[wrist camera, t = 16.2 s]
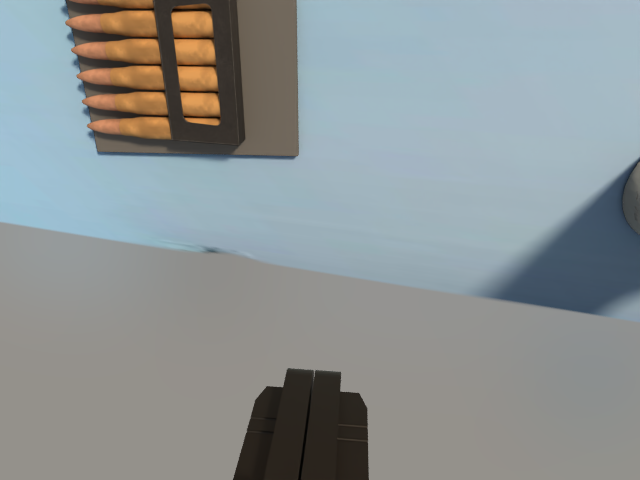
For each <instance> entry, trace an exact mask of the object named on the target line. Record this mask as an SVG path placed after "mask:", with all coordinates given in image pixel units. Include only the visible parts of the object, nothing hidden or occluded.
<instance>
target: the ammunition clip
mask: <svg viewBox="0 0 640 480" xmlns="http://www.w3.org/2000/svg"><path fill="white" fill-rule="evenodd" d="M70 1H73V2H77V3H82V4H90V5H104V6H115V7H119V8H125V9H154V11H120V12H116V13H103V14H88V15H82V16H77V17H74V18H71V19H69V20H67V21H66V22H65V24H66V25H68V26H69V27H72V28H74V29H78V30H82V31H86V32H94V33H107V34H118V35H123V36H128V37H158V39H125V40H120V41H108V42H91V43H85V44H81V45H78V46H76V47H74V48H72V49H71V51H72V52H73V53H75V54H77V55H80V56H83V57H87V58H92V59H100V60H112V61H123V62H128V63H132V64H162V66H138V65H135V66H128V67H123V68H100V69H92V70H88V71H84V72H81V73H79V74H78V75H77V78H79V79H81V80H83V81H86V82H89V83H93V84H99V85H109V86H120V87H128V88H132V89H143V90H165V92H133V93H128V94H104V95H96V96H92V97H88V98H86V99H84V100H82V103H83V104H85V105H87V106H90V107H93V108H97V109H102V110H111V111H122V112H131V113H135V114H142V115H168V117H136V118H126V119H105V120H99V121H95V122H92V123H90V124H88V125H87V127H88V128H90V129H92V130H94V131H98V132H101V133H106V134H113V135H124V136H134V137H138V138H144V139H168V140H173V141H185V142H197V143H208V144H220V145H232V146H239V145H240V144H241V143H242V142H243V141H244V140H245V123H244V107H243V91H242V75H241V59H240V43H239V27H238V11H237V0H70ZM183 9H199V10H211V11H183ZM184 38H214V39H184ZM187 65H211V66H187ZM190 91H213V92H219V93H190ZM196 116H202V117H221V118H198V117H196Z"/></svg>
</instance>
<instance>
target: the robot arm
mask: <svg viewBox="0 0 640 480" xmlns="http://www.w3.org/2000/svg"><path fill="white" fill-rule="evenodd" d="M623 212H624V215H625V218H626V220H627V222H628V223H629V225H630V226H631V228H632V229H633V230H634V231H636V232H637V233H638V234H639V235H640V162H639V163H638V164H637V166H636V167H635V169H634V170H633V172H632V173H631V174H630V176H629V179H628V181H627V183H626V186H625V189H624V194H623ZM340 383H341V372H333V371H319V370H316V371H315V377H314V371H313V370H304V369H290V368H288V370H287V373H286V377H285V382H284V386H283V387H270V386H267V387H266V388H265V389H264V390H263V392H262V393H261V394H260V395H259V397H258V398H257V399H256V400H255V404H254V407H253V411H252V415H251V419H250V422H249V425H248V428H247V433H246V436H245V439H244V444H243V446H242V450H241V453H240V457H239V461H238V464H237V468H236V471H235V475H234V478H233V480H369V477H368V476H369V475H368V474H369V473H368V429H367V425H368V423H367V407H366V405H365V403H364V401H363V399H362V398H361V396H360V394H359V393H351V392H340Z"/></svg>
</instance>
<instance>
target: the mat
mask: <svg viewBox="0 0 640 480" xmlns="http://www.w3.org/2000/svg"><path fill="white" fill-rule="evenodd" d="M66 3H67V7H68V12H69V17H70V19H71V18H74V17H77V16H82V15H88V14H103V13H116V12H120V11H154V9H125V8H119V7H115V6H104V5H90V4H82V3H77V2H73V1H70V0H66ZM183 11H211V10H199V9H183ZM237 11H238V27H239V43H240V59H241V75H242V91H243V107H244V123H245V140H244V141H243V142H242V143H241V144H240V145H239V146H232V145H220V144H208V143H197V142H185V141H173V140H168V139H144V138H138V137H134V136H124V135H113V134H106V133H101V132H98V131H94V130H93V131H94V136H95V140H96V145H97V150H98V152H139V153H184V154H229V155H275V156H298V154H299V143H298V75H297V6H296V0H237ZM72 31H73V36H74V41H75V45H76V46H78V45H81V44H85V43H91V42H108V41H120V40H125V39H158V37H128V36H123V35H118V34H107V33H94V32H86V31H82V30H78V29H74V28H72ZM184 39H214V38H184ZM78 60H79V64H80V69H81V72H84V71H88V70H92V69H100V68H123V67H128V66H135V65H138V66H162V64H132V63H128V62H123V61H112V60H100V59H92V58H87V57H83V56H80V55H78ZM187 66H211V65H187ZM83 83H84V88H85V93H86V98H88V97H92V96H96V95H104V94H128V93H133V92H165V90H143V89H132V88H128V87H120V86H109V85H99V84H93V83H89V82H86V81H83ZM190 93H219V92H213V91H190ZM88 107H89V112H90V117H91V121H92V122H95V121H99V120H105V119H126V118H136V117H168V115H142V114H135V113H131V112H122V111H111V110H102V109H97V108H93V107H90V106H88ZM196 117H198V118H221V117H202V116H196Z"/></svg>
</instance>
